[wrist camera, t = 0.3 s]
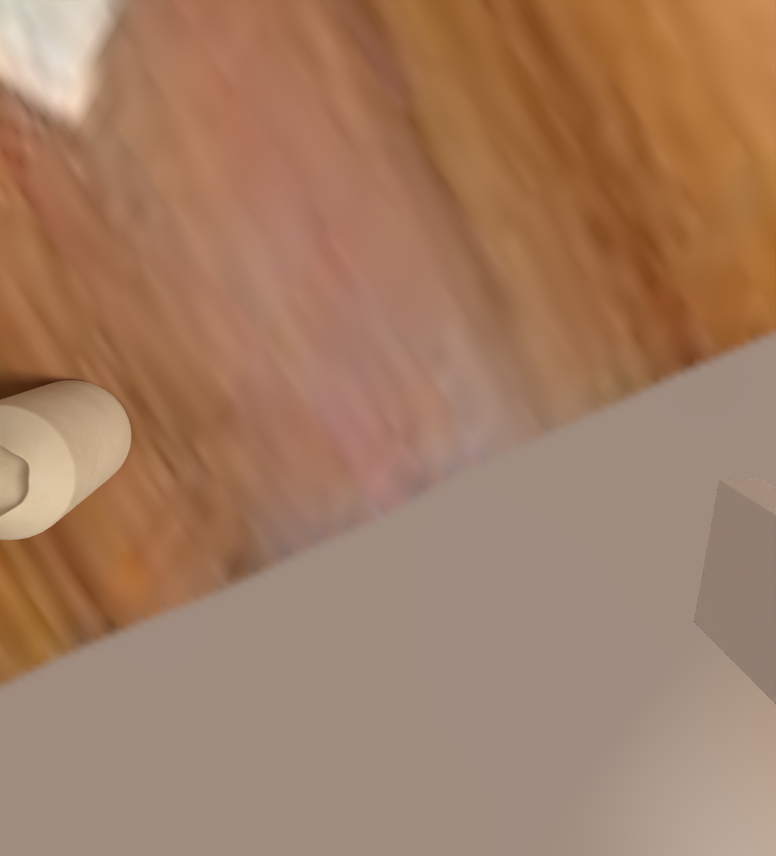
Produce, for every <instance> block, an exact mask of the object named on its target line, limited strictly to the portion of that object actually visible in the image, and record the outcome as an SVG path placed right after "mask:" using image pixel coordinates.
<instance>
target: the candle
mask: <svg viewBox="0 0 776 856" xmlns="http://www.w3.org/2000/svg"><path fill="white" fill-rule="evenodd" d="M130 445H131V426H130V422H129V419H128V416H127V414H126V412H125V410H124V408H123V407H122V405H121V404H120V403H119V401H118V400H117V399H116V398H115V397H114V396H113V395H112V394H110V393H109V392H108V391H106V390H105V389H103V388H102V387H99V386H97V385H95V384H92V383H89V382H85V381H78V380H64V381H59V382H54V383H51V384H48V385H45V386H41V387H38V388H35V389H32V390H29V391H26V392H23V393H20V394H17V395H14V396H11V397H7V398H4V399H1V400H0V539H1V540H16V539H23V538H28V537H31V536H34V535H37V534H39V533H41V532H43V531H45V530H46V529H48V528H49V527H51V526H52V525H53V524H55V523H56V522H57V521H58V520H59V519H61V518H62V517H63V516H64V515H66V514H67V513H68V512H69V511H70V510H72V509H73V508H74V507H75V506H76V505H78V504H79V503H80V502H81V501H82V500H84V499H85V498H86V497H87V496H89V495H90V494H91V493H92V492H93V491H95V490H96V489H97V488H98V487H99V486H101V485H102V484H103V483H104V482H105V481H107V480H108V479H109V478H110V477H111V476H112V475H113V474H115V473H116V472H117V471H118V469H119V468H120V467H121V466H122V464H123V463H124V461H125V459H126V457H127V455H128V452H129V449H130Z"/></svg>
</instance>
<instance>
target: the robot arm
mask: <svg viewBox="0 0 776 856" xmlns="http://www.w3.org/2000/svg"><path fill="white" fill-rule="evenodd" d="M694 623H695V624H696V625H697V626H698V627H699V628H700V629H701V630H702V631H703V632H704V633H705V634H706V635H707V636H708V637H709V638H710V639H711V640H712V641H713V642H714V643H715V644H716V645H717V646H718V647H719V648H720V649H721V650H722V651H723V652H724V653H725V654H726V655H727V656H728V657H729V658H730V659H731V660H732V661H733V662H734V663H735V664H736V665H737V666H738V667H739V668H740V669H741V670H742V671H743V672H744V673H745V674H746V675H747V676H748V677H749V678H750V679H751V680H752V681H753V682H754V683H755V684H756V685H757V686H758V687H759V688H760V689H761V690H762V691H763V692H764V693H765V694H766V695H767V696H768V697H769V698H770V699H771V700H772V701H773V702H774V703H775V704H776V488H775V487H773V486H771V485H770V484H768V483H766V482H764V481H763V480H761V479H732V480H731V479H728V480H719V483H718V489H717V494H716V500H715V506H714V512H713V517H712V522H711V528H710V534H709V540H708V545H707V550H706V556H705V562H704V567H703V573H702V578H701V584H700V590H699V596H698V601H697V606H696V612H695V618H694Z"/></svg>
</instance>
